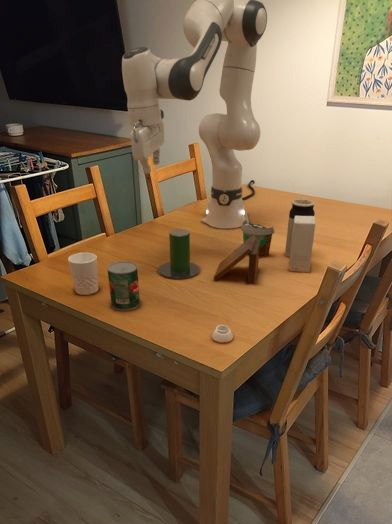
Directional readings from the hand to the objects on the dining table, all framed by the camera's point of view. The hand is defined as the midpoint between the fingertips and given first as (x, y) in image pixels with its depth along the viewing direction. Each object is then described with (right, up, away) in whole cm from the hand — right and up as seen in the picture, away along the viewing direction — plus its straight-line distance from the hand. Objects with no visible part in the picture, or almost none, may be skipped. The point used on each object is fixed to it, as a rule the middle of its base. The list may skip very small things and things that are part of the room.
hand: (152, 168), depth 138 cm
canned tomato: (-6, -41, -10) cm, 43 cm away
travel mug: (+47, -22, +20) cm, 56 cm away
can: (+8, -24, +5) cm, 25 cm away
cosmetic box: (+46, -27, +12) cm, 55 cm away
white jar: (+20, -51, -25) cm, 60 cm away
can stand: (+26, -30, +7) cm, 40 cm away
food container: (+32, -21, +21) cm, 44 cm away
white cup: (-19, -37, -2) cm, 41 cm away
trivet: (+8, -29, +9) cm, 31 cm away
